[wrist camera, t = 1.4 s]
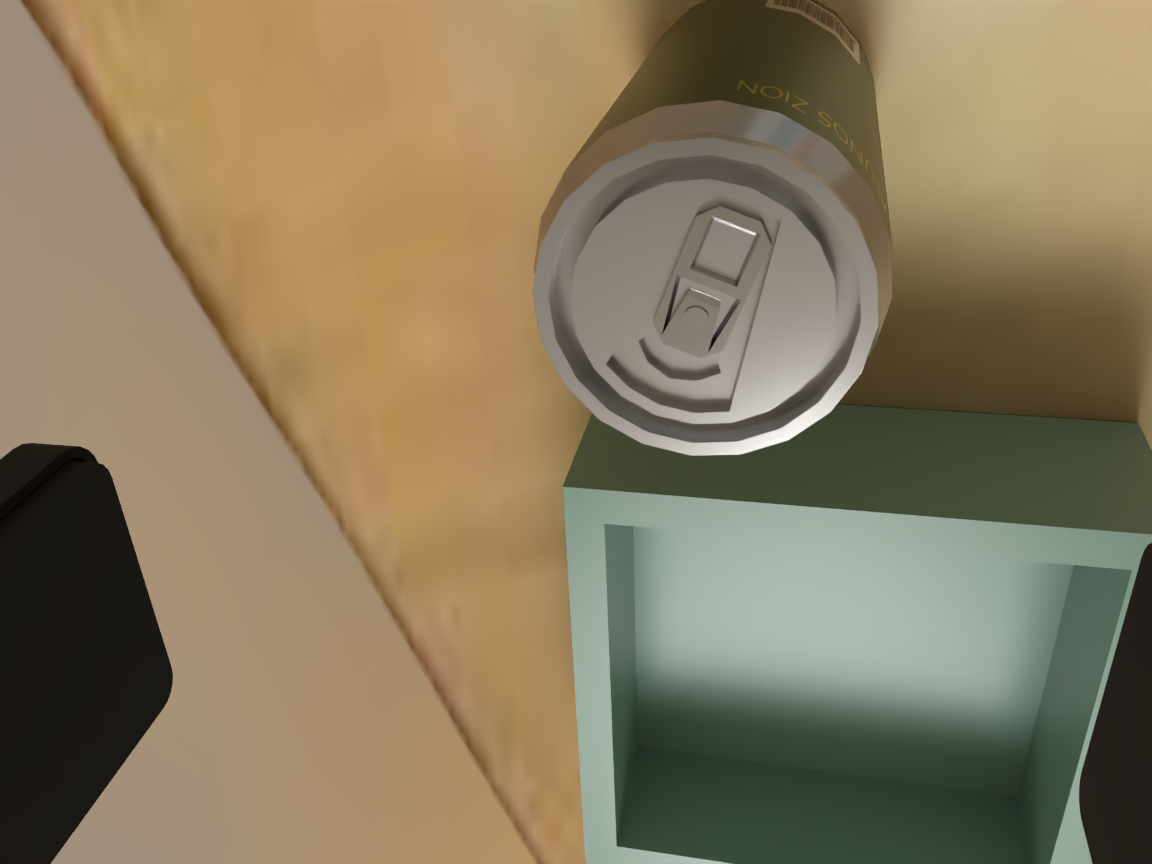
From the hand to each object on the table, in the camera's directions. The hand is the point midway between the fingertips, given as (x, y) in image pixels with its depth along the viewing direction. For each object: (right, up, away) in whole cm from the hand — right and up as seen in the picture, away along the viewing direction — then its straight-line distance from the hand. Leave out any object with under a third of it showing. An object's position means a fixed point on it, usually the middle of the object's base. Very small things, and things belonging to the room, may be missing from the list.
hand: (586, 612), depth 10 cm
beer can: (+4, +10, +16) cm, 19 cm away
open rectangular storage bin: (+8, -4, +22) cm, 24 cm away
